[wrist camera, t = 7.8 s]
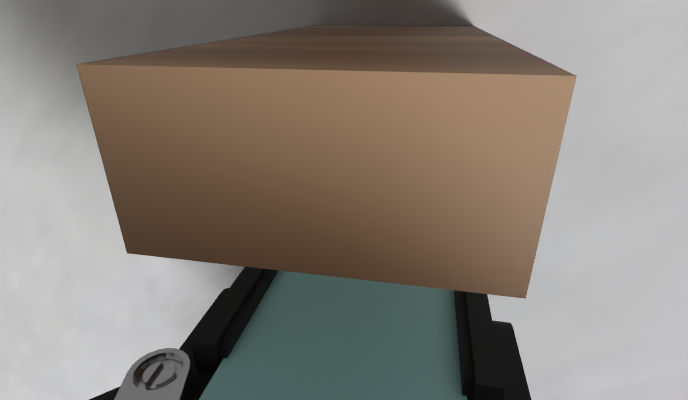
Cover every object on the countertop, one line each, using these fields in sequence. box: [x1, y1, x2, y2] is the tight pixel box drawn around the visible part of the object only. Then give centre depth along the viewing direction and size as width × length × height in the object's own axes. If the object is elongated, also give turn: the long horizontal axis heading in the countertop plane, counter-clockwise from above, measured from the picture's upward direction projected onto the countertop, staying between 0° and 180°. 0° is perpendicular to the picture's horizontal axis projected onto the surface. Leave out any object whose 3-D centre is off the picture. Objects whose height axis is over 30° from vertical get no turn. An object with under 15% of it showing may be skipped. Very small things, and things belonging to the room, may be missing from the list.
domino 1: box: [76, 26, 576, 298], centre depth 9 cm, size 2×5×10 cm, turn 91°
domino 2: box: [199, 270, 467, 400], centre depth 10 cm, size 2×5×10 cm, turn 90°
